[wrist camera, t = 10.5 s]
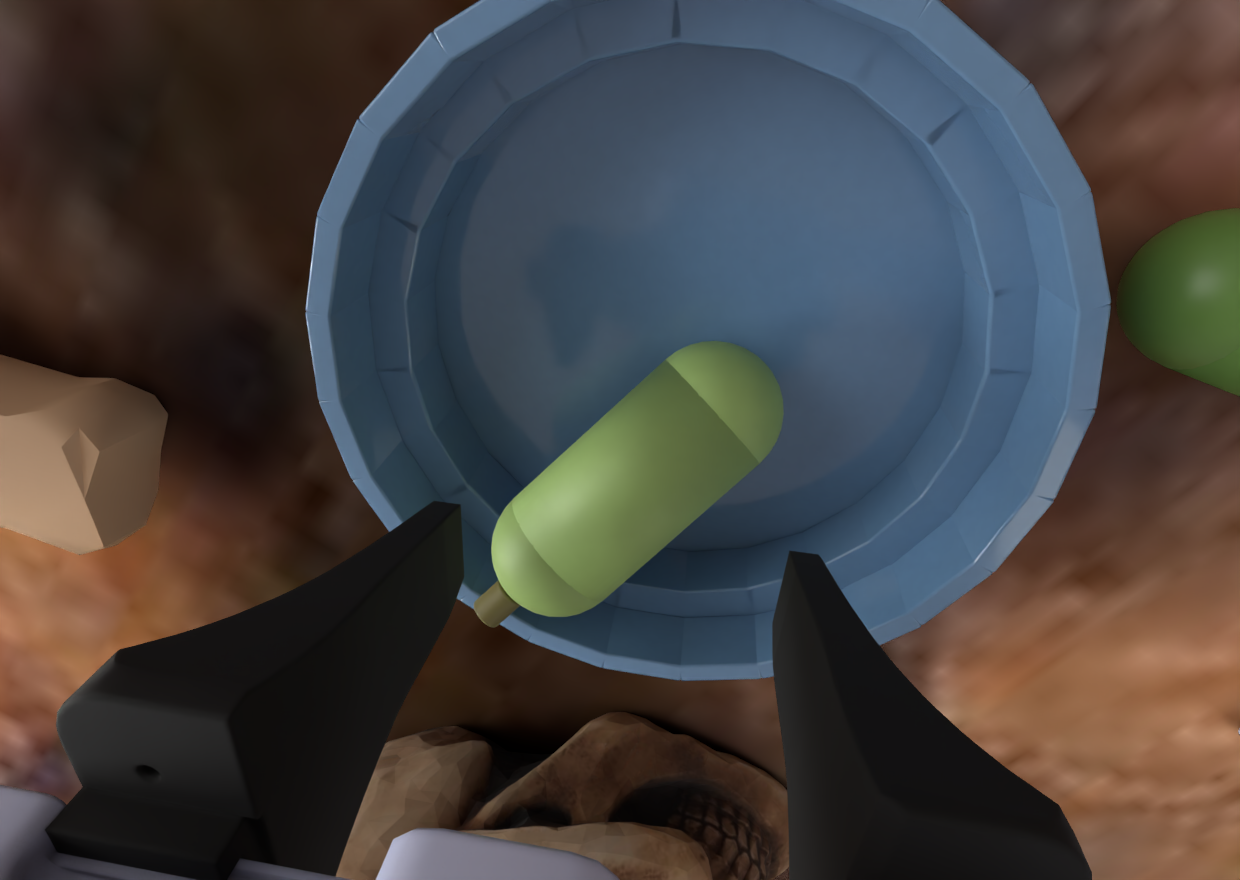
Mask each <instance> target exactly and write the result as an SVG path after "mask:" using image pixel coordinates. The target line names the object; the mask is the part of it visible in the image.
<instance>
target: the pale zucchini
mask: <svg viewBox="0 0 1240 880" xmlns="http://www.w3.org/2000/svg"><path fill="white" fill-rule="evenodd" d="M783 415H784V410H783V398H782V394H781V390H780V386H779V384H778V382H777V380H776V378H775V376H774V374H773V372H772V371H771V370H770V368H769V367H768V366H767V365H766V364H765V363H764V362H763V361H762V360H761V359H760V358H759V357H758V356H757V355H755V354H754V353H752V352H750V351H749V350H747V349H746V348H744V347H741V346H738V345H735V344H732V343H728V342H721V341H704V342H699V343H695V344H691V345H688V346H686V347H684V348H682V349H680V350H678V351H676V352H675V353H673V354H672V355H671V356H669V357H668V358H667V359H665V360H664V361H663V362H662V363H661V364H660V365H659V366H658V367H657V368H656V369H654V370H653V371H652V372H651V373H650V374H649V375H648V376H647V377H646V378H645V379H644V380H642V381H641V382H640V383H639V384H638V385H637V386H636V387H635V388H634V389H633V390H631V391H630V392H629V393H628V394H627V395H626V396H625V397H624V398H623V399H622V400H621V401H619V402H618V403H617V404H616V405H615V406H614V407H613V408H612V409H611V410H610V411H609V412H607V413H606V414H605V415H604V416H603V417H602V418H601V419H600V420H599V421H598V422H596V423H595V424H594V425H593V426H592V427H591V428H590V429H589V430H588V431H587V432H586V433H584V434H583V435H582V436H581V437H580V438H579V439H578V440H577V441H576V442H575V443H574V444H572V445H571V446H570V447H569V448H568V449H567V450H566V451H565V452H564V453H563V454H561V455H560V456H559V457H558V458H557V459H556V460H555V461H554V462H553V463H552V464H551V465H549V466H548V467H547V468H546V469H545V470H544V471H543V472H542V473H541V474H540V475H539V476H537V477H536V478H535V479H534V480H533V481H532V482H531V483H530V484H529V485H528V486H526V487H525V488H524V489H523V490H522V491H521V492H520V493H519V494H518V495H517V496H516V497H514V498H513V499H512V501H511V502H510V503H509V504H508V505H507V506H506V507H505V509H504V510H503V512H502V514H501V516H500V517H499V519H498V521H497V524H496V527H495V530H494V533H493V537H492V546H491V553H492V562H493V567H494V570H495V572H496V575H497V577H498V581H497V582H496V583H495V584H494V585H492V586H491V587H490V588H489V589H488V590H487V591H486V592H485V593H484V594H482V595H481V596H480V597H479V598H478V599H477V600H476V601H475V602H474V610H475V612H476V614H477V615H478V617H479V618H480V619H481V620H482V621H483V622H484V623H485V624H486V625H488V626H490V627H496V626H498V625H499V624H500V623H501V622H502V621H503V620H505V619H506V618H507V617H508V616H509V615H510V614H511V613H512V612H514V611H515V610H516V609H517V608H518V607H519V606H520V605H521V606H522V607H524V608H526V609H528V610H530V611H531V612H534V613H537V614H541V615H545V616H548V617H568V616H572V615H577V614H580V613H582V612H585V611H587V610H589V609H591V608H593V607H595V606H596V605H597V604H599V603H600V602H602V601H603V600H604V599H606V598H607V597H608V596H609V595H610V594H611V593H612V592H614V591H615V590H616V589H617V588H618V587H619V586H620V585H622V584H623V583H624V582H625V581H626V580H627V579H628V578H630V577H631V576H632V575H633V574H634V573H635V572H636V571H638V570H639V569H640V568H641V567H642V566H643V565H644V564H646V563H647V562H648V561H649V560H650V559H651V558H652V557H654V556H655V555H656V554H657V553H658V552H659V551H660V550H661V549H663V548H664V547H665V546H666V545H667V544H668V543H669V542H671V541H672V540H673V539H674V538H675V537H676V536H677V535H679V534H680V533H681V532H682V531H683V530H684V529H685V528H687V527H688V526H689V525H690V524H691V523H692V522H693V521H695V520H696V519H697V518H698V517H699V516H700V515H701V514H703V513H704V512H705V511H706V510H707V509H708V508H709V507H711V506H712V505H713V504H714V503H715V502H716V501H717V500H719V499H720V498H721V497H722V496H723V495H724V494H725V493H727V492H728V491H729V490H730V489H731V488H732V487H733V486H735V485H736V484H737V483H738V482H739V481H740V480H741V479H743V478H744V477H745V476H746V475H747V474H748V473H749V472H751V471H752V470H753V469H754V468H755V467H756V466H757V465H758V464H760V463H761V462H762V460H763V459H764V458H765V457H766V456H767V455H768V454H769V453H770V451H771V450H772V448H773V446H774V445H775V443H776V442H777V439H778V436H779V434H780V431H781V428H782V422H783Z"/></svg>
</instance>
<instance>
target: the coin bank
mask: <svg viewBox="0 0 1240 880" xmlns="http://www.w3.org/2000/svg"><path fill="white" fill-rule="evenodd" d="M416 828H444V829H450V830H455V831H461V832H466V833H472V834H477V835H483V836H488V837H493V838H499V839H504V840H510V841H515V842H521V843H526V844H532V845H537V846H543V847H548V848H554V849H559V850H565V851H570V852H574V853H577V854H580V855H582V856H585V857H588V858H591V859H594V860H597V861H599V862H600V863H601V864H602V865H604V866H605V867H606V868H607V869H609V870H610V871H611V872H612V873H614V874H615V875H616V876H617V877H618V878H619V880H773V879H775V878H776V877H777V876H778V875H780V874H781V873H782V872H784V871H785V870H786V869H787V868H789V829H788V796H787V790H786V789H785V787H784V786H783V785H782V784H781V783H779V782H778V781H777V780H775V779H774V778H773V777H771V776H770V775H769V774H768V773H766V772H765V771H763V770H761V769H759V768H757V767H755V766H753V765H751V764H749V763H747V762H745V761H743V760H741V759H739V758H737V757H736V756H733V755H730V754H727V753H723V752H718V751H714V750H713V749H711V748H710V747H708V746H706V745H705V744H703V743H701V742H699V741H698V740H696V739H694V738H692V737H691V736H688V735H685V734H672V733H670V732H668V731H666V730H664V729H662V728H660V727H658V726H657V725H655V724H653V723H652V722H650V721H649V720H647V719H646V718H643V717H639V716H636V715H633V714H630V713H627V712H624V711H623V712H609V713H607V714H604V715H602V716H600V717H598V718H596V719H594V720H592V721H590V722H589V723H587V724H586V725H585V726H583V727H582V728H581V729H580V730H579V731H578V732H577V733H576V734H575V735H574V736H573V737H572V738H571V739H569V740H568V741H567V742H566V743H565V744H564V745H563V746H561V747H560V748H559V749H558V750H557V751H556V752H555V753H553V754H528V753H518V752H507V751H506V750H505V749H503V748H502V747H500V746H499V745H497V744H496V743H494V742H493V741H491V740H489V739H487V738H485V737H483V736H481V735H479V734H476V733H473V732H471V731H468V730H466V729H463V728H461V727H458V726H449V727H439V728H434V729H429V730H425V731H422V732H419V733H416V734H413V735H410V736H406V737H403V738H399V739H396V740H392V741H390V742H388V743H386V744H385V745H384V747H383V750H382V752H381V755H380V757H379V759H378V762H377V765H376V767H375V770H374V772H373V775H372V777H371V780H370V783H369V785H368V788H367V790H366V793H365V795H364V798H363V801H362V803H361V806H360V809H359V812H358V814H357V817H356V820H355V823H354V825H353V828H352V831H351V834H350V836H349V839H348V842H347V845H346V847H345V850H344V853H343V856H342V859H341V862H340V865H339V868H338V871H337V874H336V877H340V878H346V879H351V880H376V878H377V876H378V873H379V871H380V869H381V866H382V864H383V862H384V859H385V857H386V855H387V852H388V850H389V848H390V846H391V843H392V841H393V839H395V838H397V837H399V836H401V835H403V834H405V833H407V832H409V831H411V830H414V829H416Z"/></svg>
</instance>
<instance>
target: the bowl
mask: <svg viewBox="0 0 1240 880" xmlns="http://www.w3.org/2000/svg"><path fill="white" fill-rule="evenodd" d="M317 215H318V216H317V218H316V224H315V233H314V241H313V250H312V258H311V267H310V275H309V284H308V292H307V301H306V311H307V312H306V321H307V328H308V334H309V341H310V347H311V354H312V361H313V367H314V374H315V380H316V387H317V393H318V399H319V400H320V401H319V403H320V406H321V408H322V411H323V413H324V415H325V418H326V420H327V422H328V425H329V427H330V430H331V432H332V434H333V437H334V439H335V441H336V444H337V446H338V449H339V451H340V453H341V456H342V458H343V461H344V463H345V465H346V468H347V470H348V472H349V475H350V477H351V479H353V482H354V484H355V485H356V486H357V488H358V489H359V490H360V492H361V493H362V495H363V496H364V497H365V499H366V500H367V502H368V503H369V504H370V506H371V507H372V509H373V510H374V511H375V513H376V514H377V515H378V517H379V518H380V520H381V521H382V522H383V524H384V525H385V527H386V528H387V529H388V531H389V532H390V531H392V530H393V529H395V528H396V527H397V526H399V525H400V524H402V523H403V522H404V521H406V520H407V519H409V518H410V517H411V516H413V515H414V514H416V513H417V512H418V511H420V510H421V509H423V508H424V507H426V506H427V505H429V504H430V503H432V502H433V501H439V502H447V503H454V504H461V521H462V540H463V559H464V579H463V582H462V585H461V587H460V590H459V593H458V596H457V599H458V600H461V601H462V602H463V603H464V604H466V605H468V606H469V607H471V608H473V609H474V602H475V601H476V600H477V599H478V598H479V597H480V596H481V595H482V594H484V593H485V592H486V591H487V590H488V589H489V588H490V587H491V586H492V585H494V584H495V583H496V582H497V581H498V577H497V575H496V572H495V570H494V567H493V562H492V553H491V546H492V537H493V533H494V530H495V527H496V524H497V521H498V519H499V517H500V516H501V514H502V512H503V510H504V509H505V507H506V506H507V505H508V504H509V503H510V502H511V501H512V499H513V498H514V497H516V496H517V495H518V494H519V493H520V492H521V491H522V490H523V489H524V488H525V487H526V486H528V485H529V484H530V483H531V482H532V481H533V480H534V479H535V478H536V477H537V476H539V475H540V474H541V473H542V472H543V471H544V470H545V469H546V468H547V467H548V466H549V465H551V464H552V463H553V462H554V461H555V460H556V459H557V458H558V457H559V456H560V455H561V454H563V453H564V452H565V451H566V450H567V449H568V448H569V447H570V446H571V445H572V444H574V443H575V442H576V441H577V440H578V439H579V438H580V437H581V436H582V435H583V434H584V433H586V432H587V431H588V430H589V429H590V428H591V427H592V426H593V425H594V424H595V423H596V422H598V421H599V420H600V419H601V418H602V417H603V416H604V415H605V414H606V413H607V412H609V411H610V410H611V409H612V408H613V407H614V406H615V405H616V404H617V403H618V402H619V401H621V400H622V399H623V398H624V397H625V396H626V395H627V394H628V393H629V392H630V391H631V390H633V389H634V388H635V387H636V386H637V385H638V384H639V383H640V382H641V381H642V380H644V379H645V378H646V377H647V376H648V375H649V374H650V373H651V372H652V371H653V370H654V369H656V368H657V367H658V366H659V365H660V364H661V363H662V362H663V361H664V360H665V359H667V358H668V357H669V356H671V355H672V354H673V353H675V352H676V351H678V350H680V349H682V348H684V347H686V346H688V345H691V344H695V343H699V342H704V341H721V342H728V343H732V344H735V345H738V346H741V347H744V348H746V349H747V350H749V351H750V352H752V353H754V354H755V355H757V356H758V357H759V358H760V359H761V360H762V361H763V362H764V363H765V364H766V365H767V366H768V367H769V368H770V370H771V371H772V372H773V374H774V376H775V378H776V380H777V382H778V384H779V386H780V390H781V394H782V398H783V410H784V415H783V422H782V428H781V431H780V434H779V436H778V439H777V442H776V443H775V445H774V446H773V448H772V450H771V451H770V453H769V454H768V455H767V456H766V457H765V458H764V459H763V460H762V462H761V463H760V464H758V465H757V466H756V467H755V468H754V469H753V470H752V471H751V472H749V473H748V474H747V475H746V476H745V477H744V478H743V479H741V480H740V481H739V482H738V483H737V484H736V485H735V486H733V487H732V488H731V489H730V490H729V491H728V492H727V493H725V494H724V495H723V496H722V497H721V498H720V499H719V500H717V501H716V502H715V503H714V504H713V505H712V506H711V507H709V508H708V509H707V510H706V511H705V512H704V513H703V514H701V515H700V516H699V517H698V518H697V519H696V520H695V521H693V522H692V523H691V524H690V525H689V526H688V527H687V528H685V529H684V530H683V531H682V532H681V533H680V534H679V535H677V536H676V537H675V538H674V539H673V540H672V541H671V542H669V543H668V544H667V545H666V546H665V547H664V548H663V549H661V550H660V551H659V552H658V553H657V554H656V555H655V556H654V557H652V558H651V559H650V560H649V561H648V562H647V563H646V564H644V565H643V566H642V567H641V568H640V569H639V570H638V571H636V572H635V573H634V574H633V575H632V576H631V577H630V578H628V579H627V580H626V581H625V582H624V583H623V584H622V585H620V586H619V587H618V588H617V589H616V590H615V591H614V592H612V593H611V594H610V595H609V596H608V597H607V598H606V599H604V600H603V601H602V602H600V603H599V604H597V605H596V606H595V607H593V608H591V609H589V610H587V611H585V612H582V613H580V614H577V615H572V616H568V617H548V616H545V615H541V614H537V613H534V612H531V611H530V610H528V609H526V608H524V607H522V606H521V605H520V606H519V607H518V608H517V609H516V610H515V611H514V612H512V613H511V614H510V615H509V616H508V617H507V618H506V619H505V620H503V621H502V622H501V623H500V625H501V626H503V627H505V628H506V629H508V630H510V631H511V632H513V633H515V634H517V635H518V636H520V637H522V638H523V639H525V640H529V642H531V643H533V644H536V645H539V646H542V647H544V648H547V649H550V650H553V651H555V652H558V653H561V654H564V655H567V656H569V657H572V658H575V659H578V660H580V661H583V662H586V663H589V664H591V665H594V666H597V667H600V668H602V667H603V668H604V669H610V670H617V671H623V672H629V673H635V674H641V675H647V676H653V677H660V678H666V679H672V680H680V679H681V680H682V681H698V680H738V679H760V678H761V677H762V678H768V677H773V676H774V673H773V659H772V622H773V618H774V613H775V609H776V605H777V601H778V597H779V592H780V588H781V584H782V580H783V575H784V571H785V567H786V563H787V559H788V554H789V550H790V551H797V552H804V553H811V554H819V556H820V557H821V558H822V560H823V561H824V563H825V565H826V566H827V568H828V570H829V571H830V573H831V575H832V576H833V578H834V580H835V581H836V583H837V585H838V586H839V588H840V589H841V591H842V593H843V594H844V596H845V597H846V599H847V600H848V602H849V603H850V605H851V606H852V608H853V610H854V611H855V612H856V614H857V615H858V617H859V618H860V620H861V621H862V622H863V624H864V625H865V627H866V628H867V630H868V631H869V632H870V634H871V635H872V636H873V638H874V639H875V640H876V642H877V643H878V644H879V645H881V644H884V643H886V642H888V641H890V640H893V639H895V638H897V637H899V636H902V635H904V634H906V633H908V632H911V631H913V630H915V629H917V628H920V627H921V625H924V624H925V623H927V622H928V621H929V620H931V619H932V618H933V617H935V616H936V615H937V614H939V613H940V612H941V611H943V610H944V609H946V608H947V607H948V606H950V605H951V604H952V603H954V602H955V601H956V600H958V599H959V598H960V597H962V596H963V595H965V594H966V593H967V592H969V591H970V590H971V589H973V588H974V587H975V586H977V585H978V584H979V583H981V582H982V581H983V580H985V579H986V578H988V577H989V576H990V575H992V573H993V572H995V571H996V570H997V569H998V568H999V567H1000V565H1001V564H1002V563H1003V562H1004V561H1005V559H1006V558H1007V557H1008V556H1009V555H1010V554H1011V552H1012V551H1013V550H1014V549H1015V548H1016V546H1017V545H1018V544H1019V543H1020V542H1021V540H1022V539H1023V538H1024V537H1025V536H1026V534H1027V533H1028V532H1029V531H1030V530H1031V528H1032V527H1033V526H1034V525H1035V524H1036V522H1037V521H1038V520H1039V519H1040V518H1041V516H1042V515H1043V514H1044V513H1045V512H1046V510H1047V509H1048V508H1049V507H1050V506H1051V505H1052V503H1053V502H1054V500H1053V499H1055V498H1056V496H1057V494H1058V492H1059V490H1060V487H1061V485H1062V483H1063V481H1064V479H1065V477H1066V474H1067V472H1068V470H1069V468H1070V466H1071V464H1072V461H1073V459H1074V457H1075V455H1076V453H1077V451H1078V448H1079V446H1080V444H1081V442H1082V440H1083V438H1084V435H1085V433H1086V431H1087V429H1088V427H1089V425H1090V422H1091V420H1092V418H1093V416H1094V414H1095V408H1096V407H1097V402H1098V395H1099V388H1100V381H1101V374H1102V367H1103V360H1104V353H1105V346H1106V338H1107V331H1108V324H1109V317H1110V310H1111V306H1110V303H1111V296H1110V291H1109V285H1108V279H1107V274H1106V268H1105V262H1104V257H1103V251H1102V245H1101V240H1100V234H1099V228H1098V223H1097V217H1096V212H1095V206H1094V200H1093V195H1092V192H1091V188H1090V186H1089V184H1088V182H1087V180H1086V179H1085V177H1084V175H1083V173H1082V171H1081V170H1080V168H1079V166H1078V164H1077V162H1076V161H1075V159H1074V157H1073V155H1072V153H1071V152H1070V150H1069V148H1068V146H1067V144H1066V143H1065V141H1064V139H1063V137H1062V135H1061V134H1060V132H1059V130H1058V128H1057V126H1056V125H1055V123H1054V121H1053V119H1052V117H1051V116H1050V114H1049V112H1048V110H1047V108H1046V107H1045V105H1044V103H1043V101H1042V99H1041V97H1040V96H1039V94H1038V92H1037V90H1036V88H1035V87H1034V85H1033V84H1032V83H1030V82H1029V79H1028V78H1026V77H1025V76H1024V75H1023V74H1022V73H1021V72H1020V71H1019V70H1018V69H1016V68H1015V67H1014V66H1013V65H1012V64H1011V63H1010V62H1009V61H1007V60H1006V59H1005V58H1004V57H1003V56H1002V55H1001V54H1000V53H998V52H997V51H996V50H995V49H994V48H993V47H992V46H991V45H990V44H988V43H987V42H986V41H985V40H984V39H983V38H982V37H981V36H979V35H978V34H977V33H976V32H975V31H974V30H973V29H972V28H970V27H969V26H968V25H967V24H966V23H965V22H964V21H963V20H961V19H960V18H959V17H958V16H957V15H956V14H955V13H954V12H953V11H951V10H950V9H949V8H948V7H947V6H946V5H945V4H944V3H942V2H941V1H940V0H479V1H478V2H476V3H475V4H473V5H471V6H470V7H468V8H467V9H465V10H463V11H462V12H460V13H459V14H457V15H455V16H454V17H452V18H451V19H449V20H447V21H446V22H444V23H443V24H441V25H439V26H438V27H436V28H435V30H434V32H431V33H429V34H428V36H427V37H426V38H425V39H424V40H423V42H422V43H421V44H420V45H419V46H418V47H417V49H416V50H415V51H414V52H413V53H412V55H411V56H410V57H409V58H408V59H407V60H406V62H405V63H404V64H403V65H402V66H401V68H400V69H399V70H398V71H397V72H396V73H395V75H394V76H393V77H392V78H391V79H390V81H389V82H388V83H387V84H386V85H385V86H384V88H383V89H382V90H381V91H380V92H379V94H378V95H377V96H376V97H375V98H374V99H373V101H372V102H371V103H370V104H369V105H368V107H367V108H366V109H365V110H364V111H363V112H362V114H361V115H360V117H359V119H358V120H357V121H356V123H355V125H354V128H353V130H352V132H351V135H350V137H349V139H348V142H347V144H346V146H345V149H344V151H343V154H342V156H341V158H340V161H339V163H338V165H337V168H336V170H335V172H334V175H333V177H332V179H331V182H330V184H329V186H328V189H327V191H326V193H325V196H324V198H323V201H322V203H321V205H320V208H319V210H318V212H317Z"/></svg>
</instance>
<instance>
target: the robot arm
mask: <svg viewBox="0 0 1240 880" xmlns="http://www.w3.org/2000/svg"><path fill="white" fill-rule="evenodd" d="M463 579H464V559H463V540H462V521H461V504H454V503H447V502H439V501H433V502H432V503H430V504H429V505H427V506H426V507H424V508H423V509H421V510H420V511H418V512H417V513H416V514H414V515H413V516H411V517H410V518H409V519H407V520H406V521H404V522H403V523H402V524H400V525H399V526H397V527H396V528H395V529H393V530H392V531H390V532H389V533H387V534H386V535H384V536H383V537H381V538H380V539H378V540H377V541H376V542H374V543H373V544H371V545H370V546H368V547H367V548H365V549H364V550H362V551H360V552H359V553H357V554H355V555H354V556H352V557H351V558H349V559H347V560H346V561H344V562H342V563H341V564H339V565H338V566H336V567H334V568H333V569H331V570H329V571H328V572H326V573H324V574H322V575H320V576H319V577H317V578H315V579H313V580H311V581H309V582H307V583H305V584H303V585H301V586H299V587H297V588H295V589H293V590H291V591H289V592H287V593H285V594H283V595H281V596H279V597H276V598H274V599H272V600H269V601H267V602H265V603H262V604H260V605H257V606H255V607H253V608H250V609H248V610H246V611H243V612H241V613H238V614H236V615H233V616H230V617H228V618H225V619H222V620H219V621H217V622H214V623H211V624H208V625H205V626H202V627H199V628H196V629H193V630H190V631H186V632H183V633H180V634H177V635H173V636H169V637H166V638H162V639H158V640H154V641H151V642H147V643H143V644H140V645H136V646H132V647H128V648H124V649H120V650H118V651H117V652H116V653H115V654H114V655H113V656H112V657H111V658H110V659H109V660H108V661H107V662H106V663H105V664H104V665H103V666H101V667H100V668H99V669H98V670H97V671H96V672H95V673H94V674H93V675H92V676H91V677H90V678H89V679H88V680H87V681H86V682H85V683H84V684H83V685H82V686H81V687H80V688H79V689H78V690H77V691H76V692H75V693H73V694H72V695H71V696H70V697H69V698H68V699H67V700H66V701H65V702H64V703H63V705H62V706H61V708H60V709H59V711H58V712H57V722H56V727H57V731H58V735H59V738H60V741H61V743H62V745H63V747H64V749H65V751H66V753H67V755H68V757H69V760H70V762H71V764H72V766H73V768H74V770H75V772H76V774H77V776H78V778H79V780H80V782H81V784H82V786H83V788H82V789H81V790H80V791H79V792H78V793H77V794H76V795H75V797H74V798H73V799H72V800H71V801H70V802H69V803H68V804H67V805H66V804H65V803H64V802H63V801H62V800H60V799H58V798H57V797H55V796H52V795H49V794H46V793H42V792H36V791H31V790H25V789H20V788H15V787H9V786H4V785H0V880H351V879H346V878H340V877H336V874H337V871H338V868H339V865H340V862H341V859H342V856H343V853H344V850H345V847H346V845H347V842H348V839H349V836H350V834H351V831H352V828H353V825H354V823H355V820H356V817H357V814H358V812H359V809H360V806H361V803H362V801H363V798H364V795H365V793H366V790H367V788H368V785H369V783H370V780H371V777H372V775H373V772H374V770H375V767H376V765H377V762H378V759H379V757H380V755H381V752H382V750H383V747H384V745H385V742H386V740H387V738H388V735H389V733H390V730H391V728H392V726H393V723H394V721H395V718H396V716H397V714H398V712H399V710H400V708H401V706H402V704H403V702H404V700H405V698H406V696H407V694H408V692H409V690H410V689H411V687H412V685H413V683H414V681H415V679H416V678H417V676H418V674H419V672H420V670H421V668H422V667H423V665H424V663H425V661H426V659H427V657H428V656H429V654H430V652H431V650H432V648H433V646H434V644H435V643H436V641H437V639H438V637H439V635H440V633H441V631H442V629H443V628H444V626H445V624H446V622H447V620H448V618H449V616H450V614H451V611H452V609H453V606H454V603H455V601H456V598H457V596H458V593H459V590H460V587H461V585H462V582H463ZM772 659H773V673H774V681H775V689H776V697H777V704H778V712H779V719H780V727H781V734H782V742H783V749H784V757H785V765H786V777H787V796H788V829H789V880H1092V872H1091V870H1090V867H1089V865H1088V863H1087V861H1086V858H1085V856H1084V854H1083V852H1082V849H1081V847H1080V845H1079V842H1078V840H1077V838H1076V836H1075V834H1074V832H1073V830H1072V828H1071V826H1070V824H1069V823H1068V821H1067V819H1066V817H1065V815H1064V814H1063V812H1062V810H1061V808H1060V806H1059V805H1058V804H1057V803H1055V802H1054V801H1052V800H1051V799H1050V798H1048V797H1047V796H1045V795H1044V794H1042V793H1041V792H1040V791H1038V790H1037V789H1035V788H1034V787H1032V786H1031V785H1030V784H1028V783H1027V782H1025V781H1024V780H1022V779H1021V778H1020V777H1018V776H1017V775H1015V774H1014V773H1012V772H1011V771H1010V770H1008V769H1007V768H1006V767H1004V766H1003V765H1002V764H1000V763H999V762H998V761H997V760H995V759H994V758H993V757H992V756H990V755H989V754H988V753H987V752H985V751H984V750H983V749H981V748H980V747H979V746H978V745H977V744H975V743H974V742H973V741H972V740H971V739H969V738H968V737H967V736H966V735H965V734H964V733H962V732H961V731H960V730H959V729H958V728H957V727H956V726H955V725H953V724H952V723H951V722H950V721H949V720H948V719H947V718H946V717H945V716H944V715H943V714H942V713H940V712H939V711H938V710H937V709H936V708H935V707H934V706H933V705H932V704H931V703H930V702H929V701H928V700H927V699H926V698H925V697H924V696H923V695H922V694H921V693H920V692H919V691H918V690H917V689H916V688H915V687H914V685H913V684H912V683H911V682H910V681H909V680H908V679H907V678H906V677H905V676H904V675H903V674H902V673H901V671H900V670H899V669H898V668H897V667H896V666H895V664H894V663H893V662H892V661H891V660H890V658H889V657H888V656H887V655H886V653H885V652H884V651H883V650H882V648H881V647H880V646H879V644H878V643H877V642H876V640H875V639H874V638H873V636H872V635H871V634H870V632H869V631H868V630H867V628H866V627H865V625H864V624H863V622H862V621H861V620H860V618H859V617H858V615H857V614H856V612H855V611H854V610H853V608H852V606H851V605H850V603H849V602H848V600H847V599H846V597H845V596H844V594H843V593H842V591H841V589H840V588H839V586H838V585H837V583H836V581H835V580H834V578H833V576H832V575H831V573H830V571H829V570H828V568H827V566H826V565H825V563H824V561H823V560H822V558H821V557H820V556H819V554H811V553H804V552H797V551H790V550H789V554H788V559H787V563H786V567H785V571H784V575H783V580H782V584H781V588H780V592H779V597H778V601H777V605H776V609H775V613H774V618H773V622H772ZM1238 733H1239V735H1240V728H1239V731H1238ZM376 880H619V878H618V877H617V876H616V875H615V874H614V873H612V872H611V871H610V870H609V869H607V868H606V867H605V866H604V865H602V864H601V863H600V862H599V861H597V860H594V859H591V858H588V857H585V856H582V855H580V854H577V853H574V852H570V851H565V850H559V849H554V848H548V847H543V846H537V845H532V844H526V843H521V842H515V841H510V840H504V839H499V838H493V837H488V836H483V835H477V834H472V833H466V832H461V831H455V830H450V829H444V828H416V829H414V830H411V831H409V832H407V833H405V834H403V835H401V836H399V837H397V838H395V839H393V841H392V843H391V846H390V848H389V850H388V852H387V855H386V857H385V859H384V862H383V864H382V866H381V869H380V871H379V873H378V876H377V878H376Z"/></svg>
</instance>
